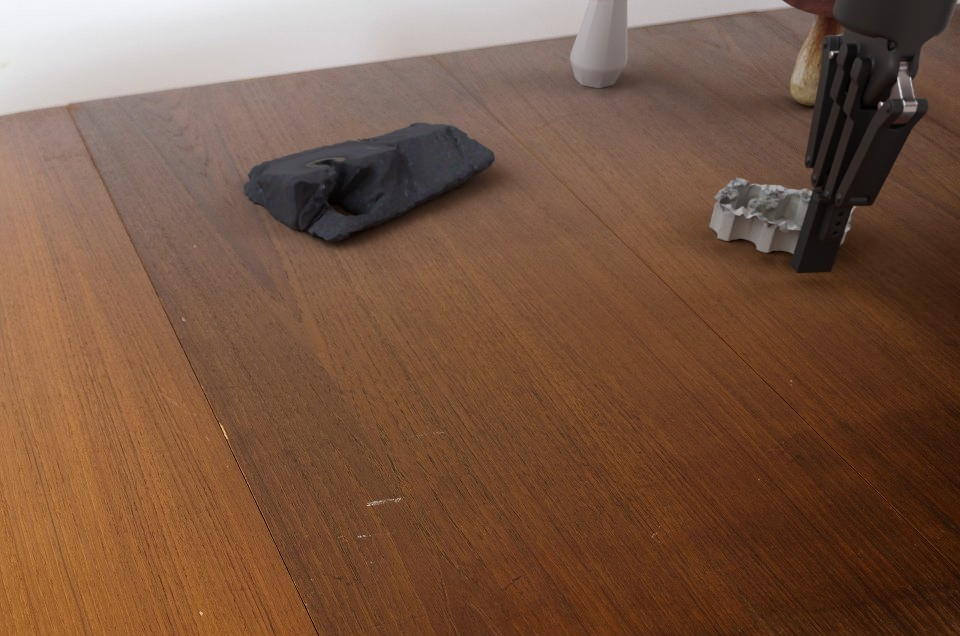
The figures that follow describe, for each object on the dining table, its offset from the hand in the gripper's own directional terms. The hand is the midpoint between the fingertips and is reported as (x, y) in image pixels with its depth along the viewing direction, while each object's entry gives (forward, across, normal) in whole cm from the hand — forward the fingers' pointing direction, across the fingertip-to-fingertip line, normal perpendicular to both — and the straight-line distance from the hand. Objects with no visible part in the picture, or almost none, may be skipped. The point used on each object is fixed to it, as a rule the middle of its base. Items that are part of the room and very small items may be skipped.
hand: (810, 267), depth 100 cm
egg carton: (+2, -7, 0) cm, 8 cm away
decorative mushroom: (+2, -34, +12) cm, 36 cm away
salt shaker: (+2, -41, -8) cm, 42 cm away
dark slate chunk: (+2, -19, -33) cm, 38 cm away
